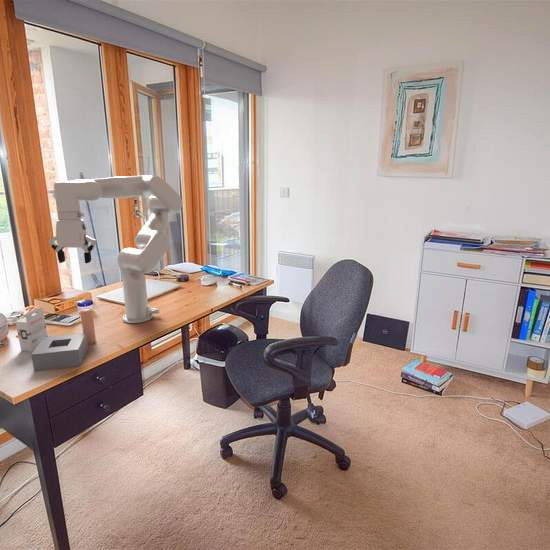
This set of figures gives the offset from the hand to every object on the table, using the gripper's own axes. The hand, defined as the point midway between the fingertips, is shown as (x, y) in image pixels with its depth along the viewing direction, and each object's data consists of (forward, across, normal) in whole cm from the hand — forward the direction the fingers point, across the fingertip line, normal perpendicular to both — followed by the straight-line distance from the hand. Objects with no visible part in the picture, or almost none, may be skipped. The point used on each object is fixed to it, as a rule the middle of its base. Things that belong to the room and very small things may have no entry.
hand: (75, 262), depth 146 cm
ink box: (+31, +15, +8) cm, 35 cm away
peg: (+31, -4, +4) cm, 31 cm away
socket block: (+31, -1, +17) cm, 35 cm away
